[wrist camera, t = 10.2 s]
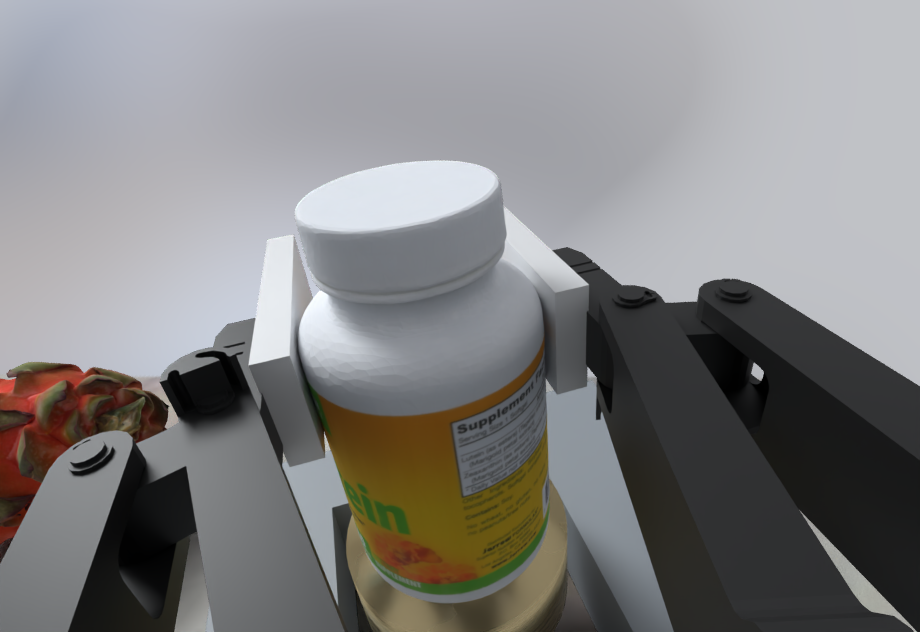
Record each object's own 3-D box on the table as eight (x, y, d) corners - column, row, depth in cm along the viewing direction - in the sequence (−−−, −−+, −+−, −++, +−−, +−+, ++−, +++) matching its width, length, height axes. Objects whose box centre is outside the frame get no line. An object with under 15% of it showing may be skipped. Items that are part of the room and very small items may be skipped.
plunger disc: (377, 722, 13) (356, 674, 12) (355, 519, 19) (339, 470, 17) (606, 639, 14) (610, 587, 13) (523, 470, 20) (519, 421, 18)
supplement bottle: (329, 516, 15) (211, 204, 10) (465, 424, 18) (424, 140, 13) (440, 661, 12) (340, 284, 7) (591, 517, 14) (600, 171, 9)
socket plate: (209, 1075, 11) (139, 1058, 9) (256, 531, 23) (229, 477, 21) (837, 793, 14) (878, 737, 12) (590, 435, 25) (592, 380, 24)
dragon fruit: (230, 492, 27) (-19, 618, 24) (181, 354, 30) (-49, 454, 27) (148, 475, 19) (-233, 660, 17) (90, 290, 22) (-245, 423, 19)
